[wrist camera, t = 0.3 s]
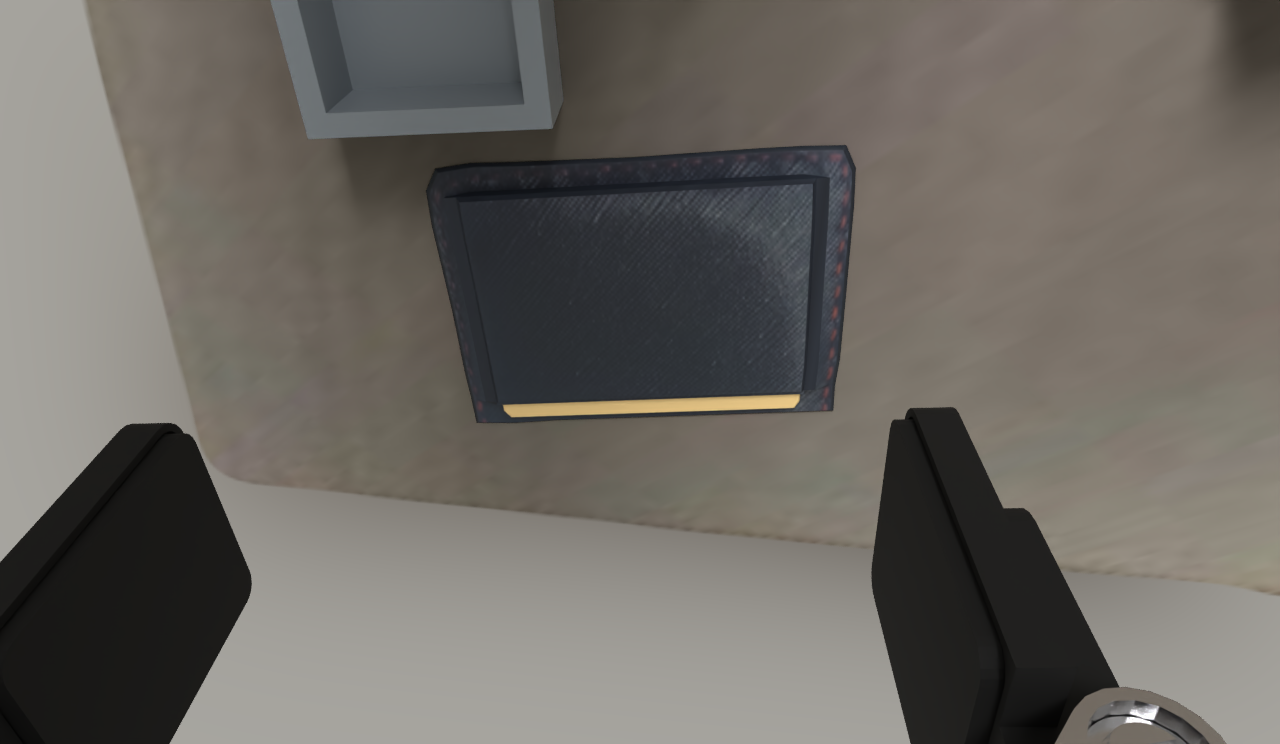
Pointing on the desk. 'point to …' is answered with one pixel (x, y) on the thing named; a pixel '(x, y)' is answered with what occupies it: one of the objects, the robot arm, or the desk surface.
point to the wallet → (648, 282)
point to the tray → (421, 65)
